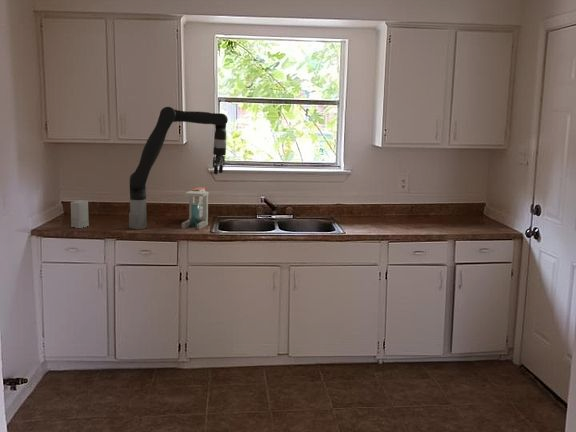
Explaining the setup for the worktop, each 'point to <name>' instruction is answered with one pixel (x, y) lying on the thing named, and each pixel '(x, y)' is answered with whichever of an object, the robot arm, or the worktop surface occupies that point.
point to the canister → (194, 214)
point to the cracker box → (199, 200)
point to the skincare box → (79, 214)
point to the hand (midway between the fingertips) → (218, 173)
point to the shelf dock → (203, 221)
